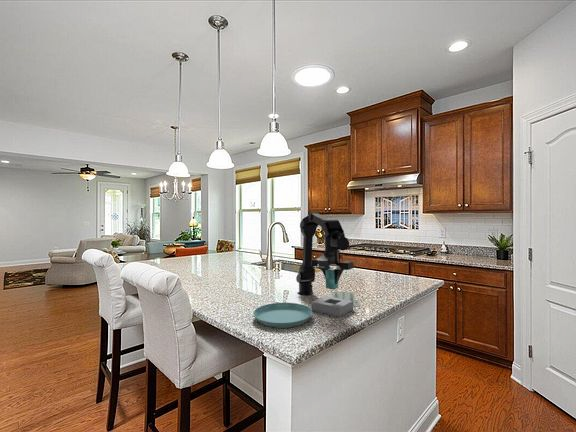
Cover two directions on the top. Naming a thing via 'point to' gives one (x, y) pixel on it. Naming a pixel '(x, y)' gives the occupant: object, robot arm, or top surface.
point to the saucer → (282, 314)
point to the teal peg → (330, 279)
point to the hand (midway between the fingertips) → (332, 283)
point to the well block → (332, 306)
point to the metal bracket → (346, 297)
